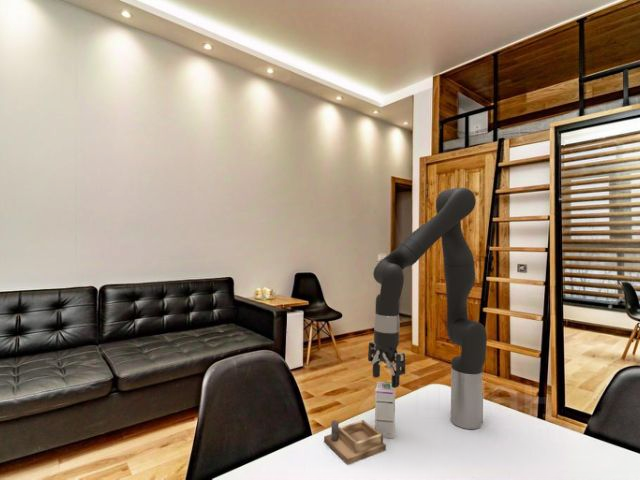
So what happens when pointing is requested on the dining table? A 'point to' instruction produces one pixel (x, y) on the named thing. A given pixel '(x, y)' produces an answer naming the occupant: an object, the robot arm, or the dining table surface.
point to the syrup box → (385, 409)
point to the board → (355, 441)
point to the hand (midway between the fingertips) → (385, 381)
